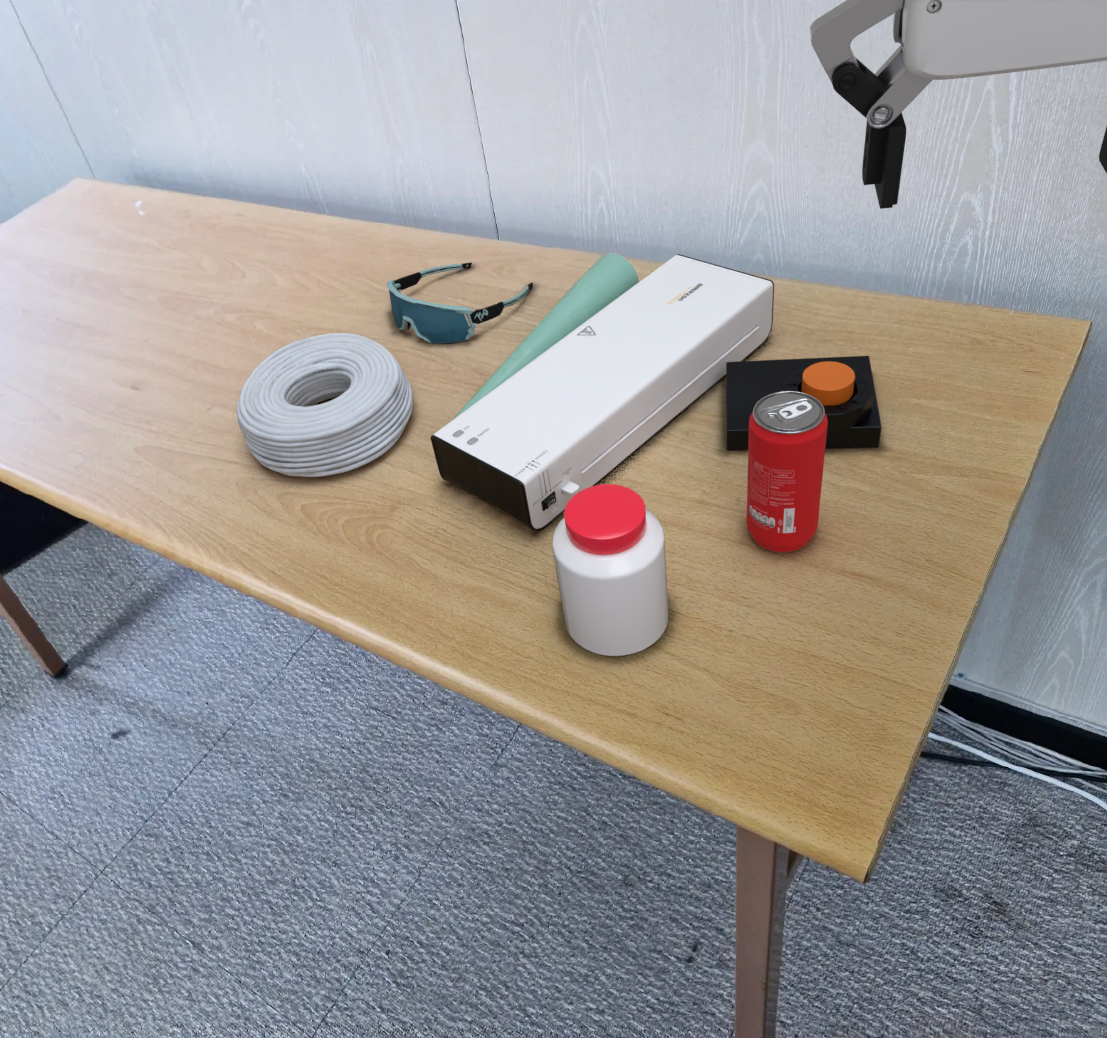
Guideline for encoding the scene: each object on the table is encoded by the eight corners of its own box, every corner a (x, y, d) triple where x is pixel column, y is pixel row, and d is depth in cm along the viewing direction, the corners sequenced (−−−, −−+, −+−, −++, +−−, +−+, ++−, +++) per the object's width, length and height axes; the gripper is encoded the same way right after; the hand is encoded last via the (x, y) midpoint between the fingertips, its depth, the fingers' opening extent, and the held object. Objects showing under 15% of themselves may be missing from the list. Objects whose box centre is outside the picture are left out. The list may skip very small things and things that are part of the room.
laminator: (677, 306, 102) (675, 252, 97) (782, 340, 94) (785, 283, 90) (442, 487, 89) (429, 434, 84) (542, 544, 81) (532, 489, 77)
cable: (309, 366, 108) (293, 319, 104) (447, 385, 100) (435, 336, 96) (217, 467, 98) (196, 420, 94) (362, 498, 90) (346, 447, 86)
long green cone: (419, 383, 92) (595, 248, 103) (431, 429, 95) (599, 293, 106) (461, 400, 88) (638, 258, 99) (471, 447, 92) (641, 305, 103)
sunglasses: (368, 322, 112) (361, 282, 109) (461, 276, 119) (457, 237, 116) (452, 358, 103) (447, 315, 100) (547, 306, 110) (546, 264, 107)
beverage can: (733, 524, 78) (735, 404, 70) (791, 501, 78) (800, 380, 70) (769, 565, 74) (776, 444, 66) (831, 541, 74) (844, 418, 66)
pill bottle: (689, 628, 71) (685, 520, 64) (596, 672, 70) (581, 568, 63) (634, 564, 77) (624, 458, 70) (546, 604, 76) (528, 500, 69)
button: (850, 377, 82) (852, 359, 81) (855, 406, 80) (857, 389, 78) (800, 379, 83) (801, 362, 82) (802, 407, 81) (803, 391, 80)
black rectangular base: (866, 375, 88) (871, 338, 85) (879, 451, 80) (884, 412, 78) (726, 381, 91) (726, 345, 88) (726, 453, 84) (726, 417, 81)
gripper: (1340, -342, 35) (1187, 130, 46) (818, -230, 40) (796, 169, 51) (1447, -318, 30) (1246, 205, 41) (832, -194, 35) (804, 240, 46)
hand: (996, 185), depth 46 cm, fingers open, 9 cm apart
